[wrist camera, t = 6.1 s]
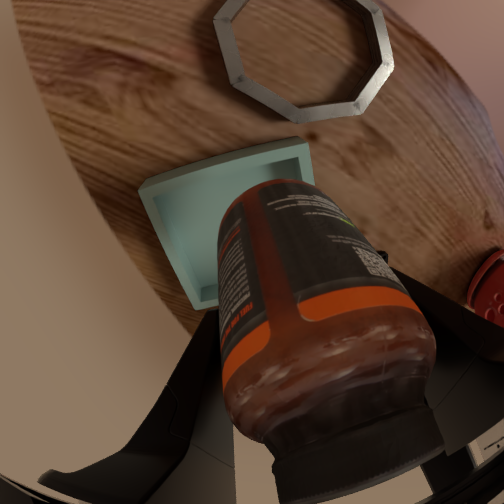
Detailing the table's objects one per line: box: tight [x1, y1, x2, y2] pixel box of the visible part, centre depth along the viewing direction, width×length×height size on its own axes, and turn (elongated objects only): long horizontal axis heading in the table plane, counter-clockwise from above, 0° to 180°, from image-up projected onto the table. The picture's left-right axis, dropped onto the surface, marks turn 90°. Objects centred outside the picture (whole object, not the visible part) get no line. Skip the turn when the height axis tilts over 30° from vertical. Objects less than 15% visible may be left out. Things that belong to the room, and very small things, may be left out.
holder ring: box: [213, 0, 394, 124], centre depth 14 cm, size 12×12×2 cm
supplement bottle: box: [217, 179, 446, 504], centre depth 9 cm, size 6×6×11 cm
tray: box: [138, 136, 315, 311], centre depth 21 cm, size 12×12×2 cm
